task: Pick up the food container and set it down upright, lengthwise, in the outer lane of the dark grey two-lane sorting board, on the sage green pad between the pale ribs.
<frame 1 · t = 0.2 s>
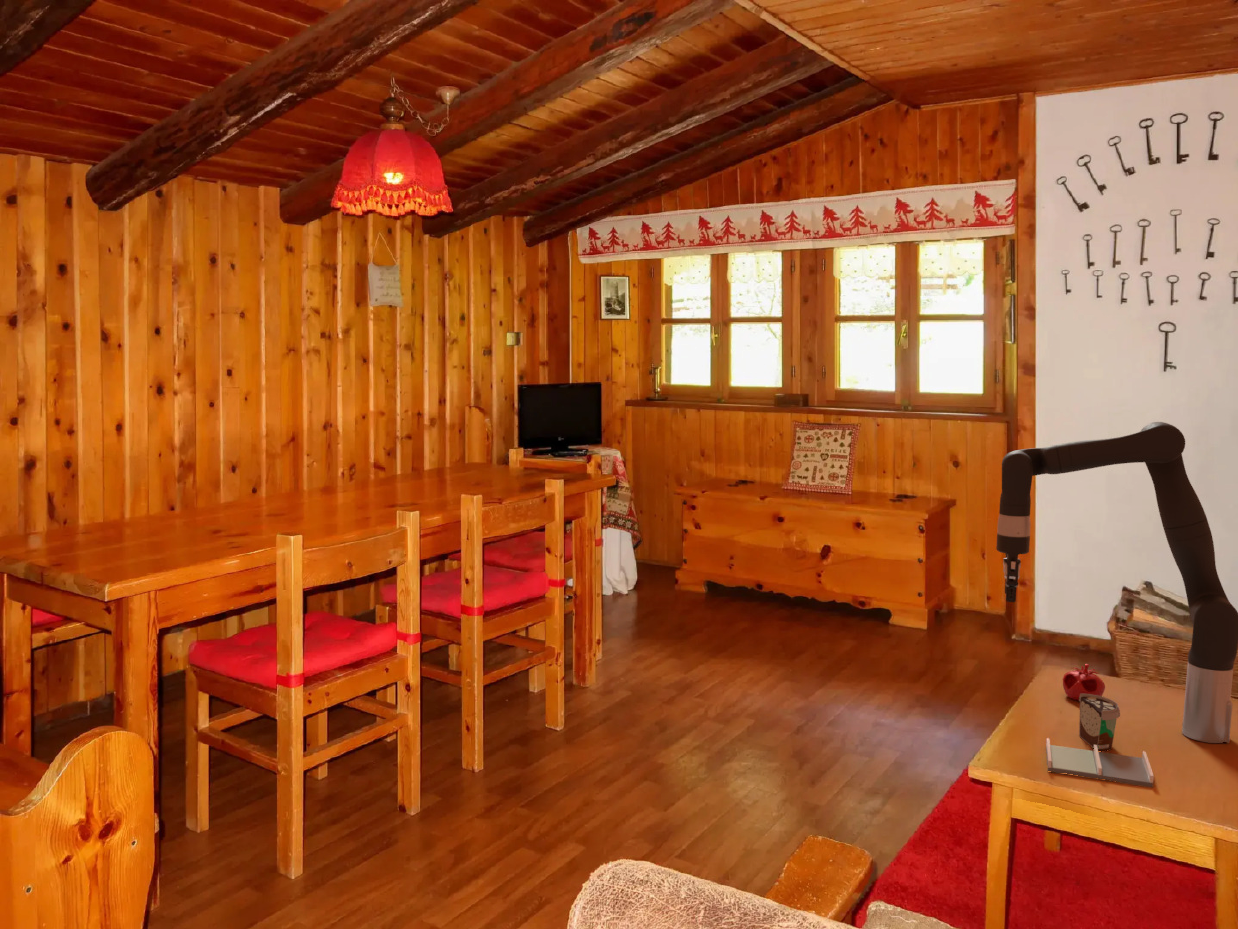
hand: (1010, 597, 253), 29 cm above the table, tool pointing down, fingers open, 8 cm apart
food container: (1101, 745, 235), on the table
sorting board: (1096, 767, 222), on the table
pomegranate: (1082, 699, 267), on the table
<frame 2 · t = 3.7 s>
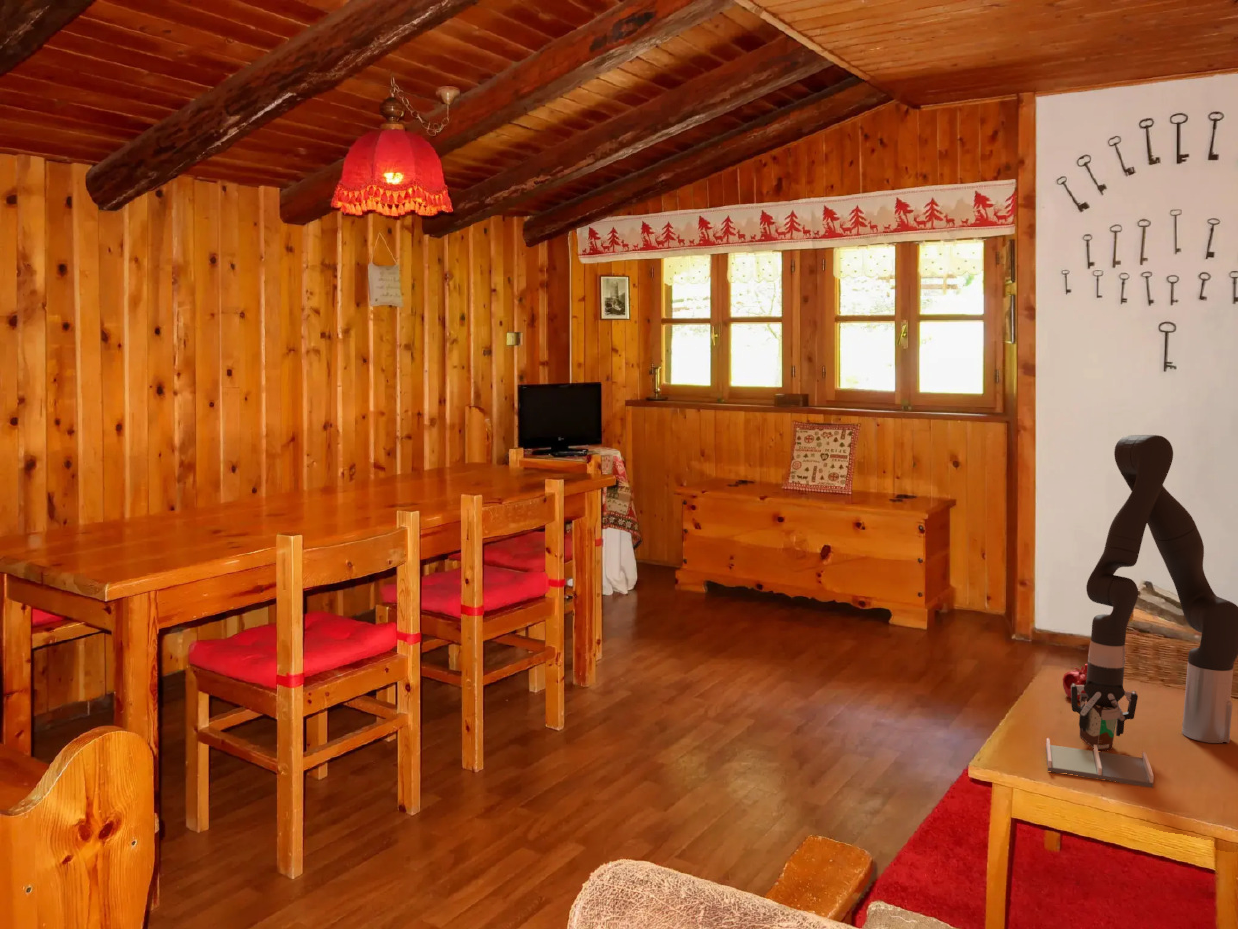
hand: (1100, 732, 235), 3 cm above the table, tool pointing down, fingers closed on food container, 6 cm apart
food container: (1101, 745, 235), on the table, touching gripper
everything else where it was.
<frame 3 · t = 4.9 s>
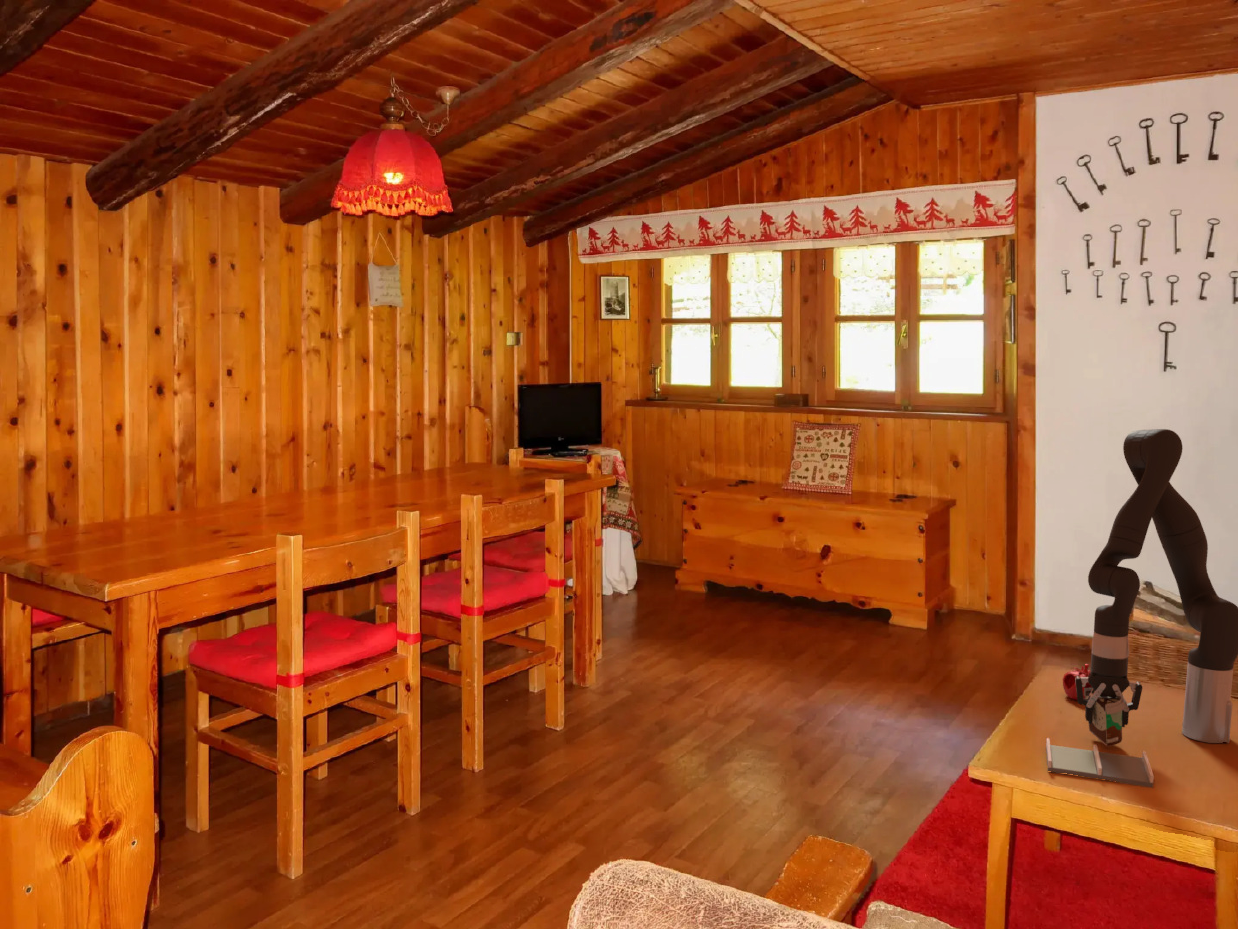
hand: (1106, 724, 234), 5 cm above the table, tool pointing down, fingers closed on food container, 6 cm apart
food container: (1111, 737, 234), point 2 cm above the table, touching gripper
everything else where it was.
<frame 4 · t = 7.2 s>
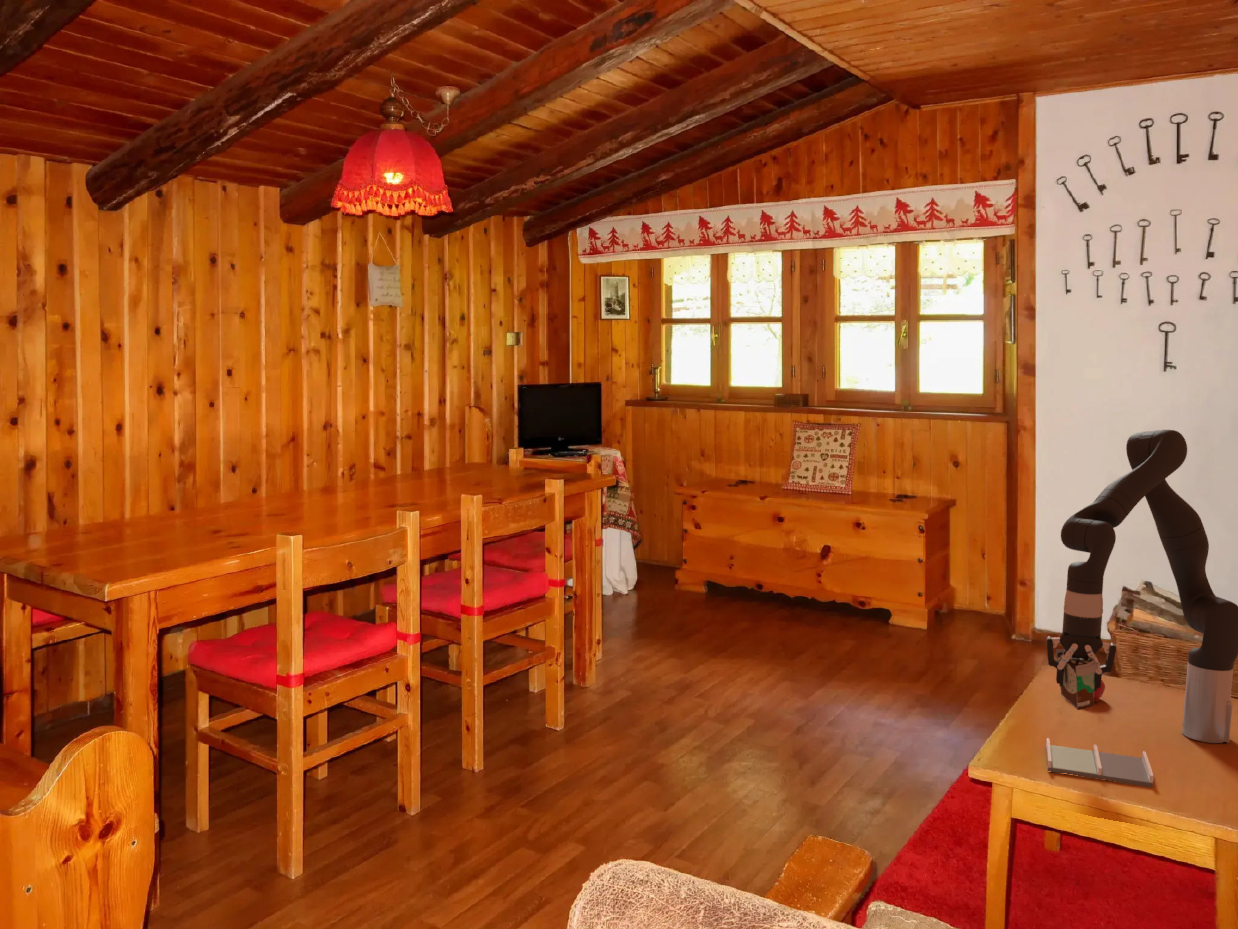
hand: (1077, 687, 222), 17 cm above the table, tool pointing down, fingers closed on food container, 6 cm apart
food container: (1083, 701, 222), point 14 cm above the table, touching gripper
everything else where it was.
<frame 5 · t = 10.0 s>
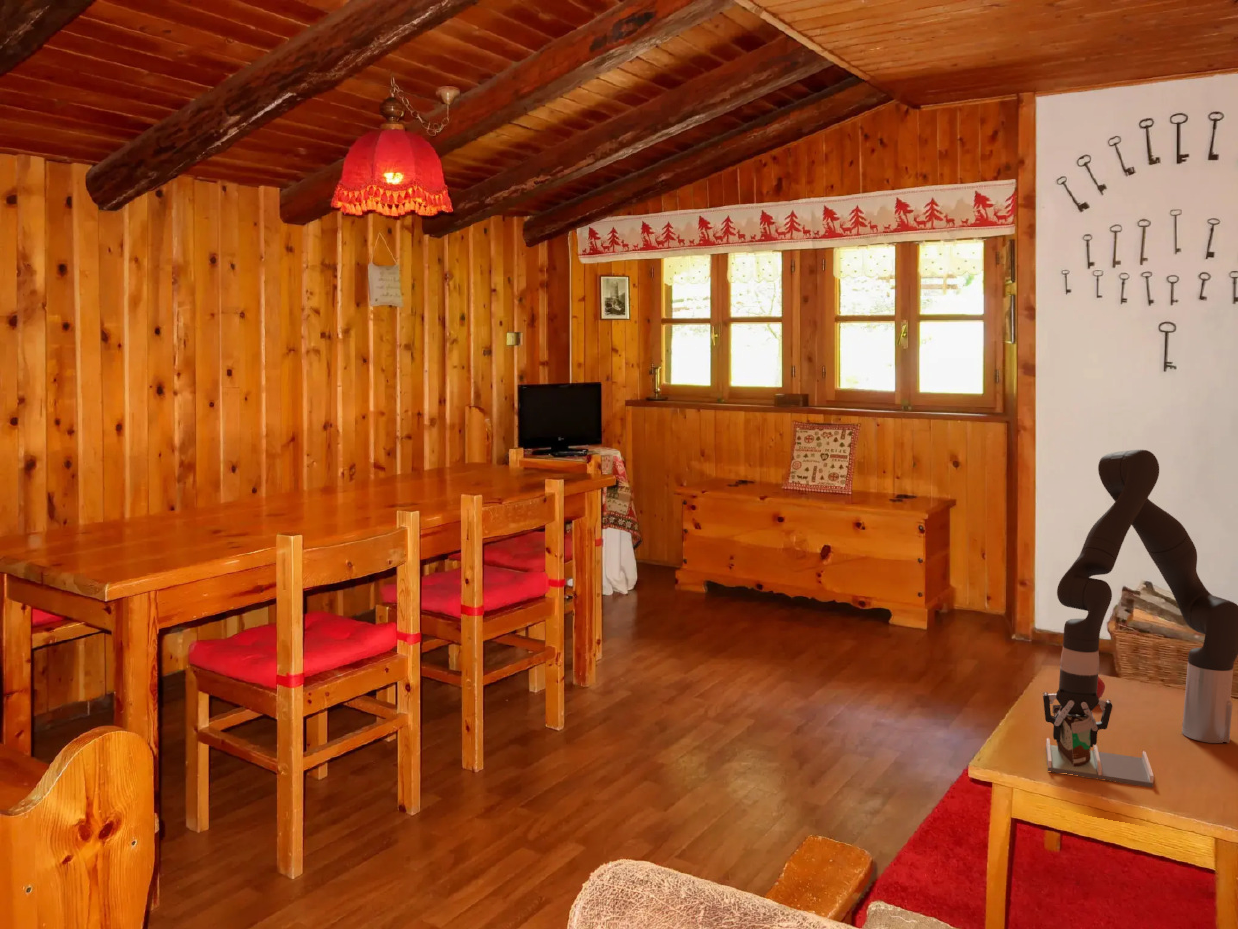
hand: (1074, 743, 223), 5 cm above the table, tool pointing down, fingers closed on food container, 6 cm apart
food container: (1080, 757, 224), point 1 cm above the table, touching gripper, sorting board
everything else where it was.
when the fingers open (5 cm above the table, at t = 10.3 s): food container stays where it is, resting on sorting board.
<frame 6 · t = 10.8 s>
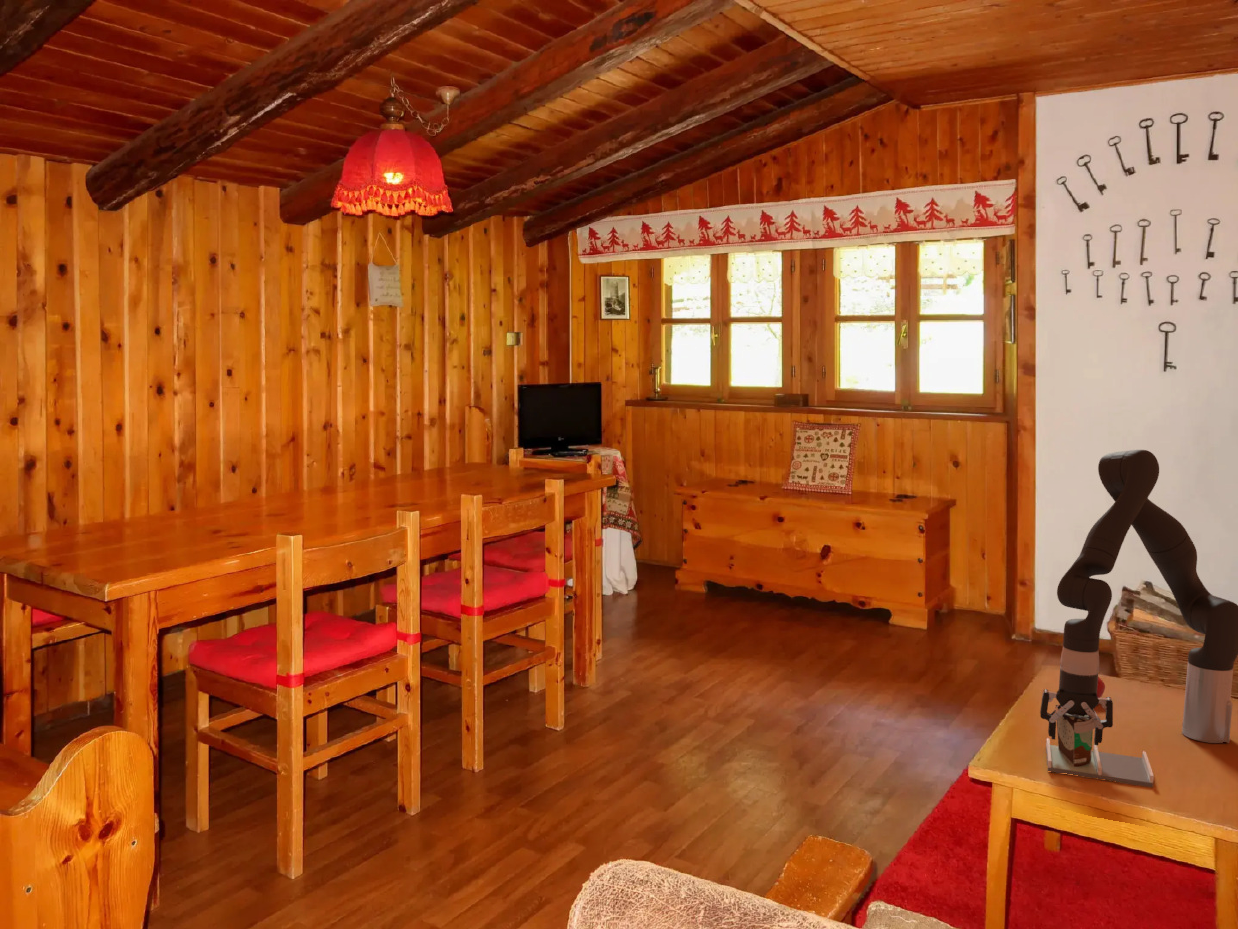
hand: (1074, 741, 223), 5 cm above the table, tool pointing down, fingers open, 8 cm apart
food container: (1080, 758, 224), point 1 cm above the table, touching gripper, sorting board
everything else where it was.
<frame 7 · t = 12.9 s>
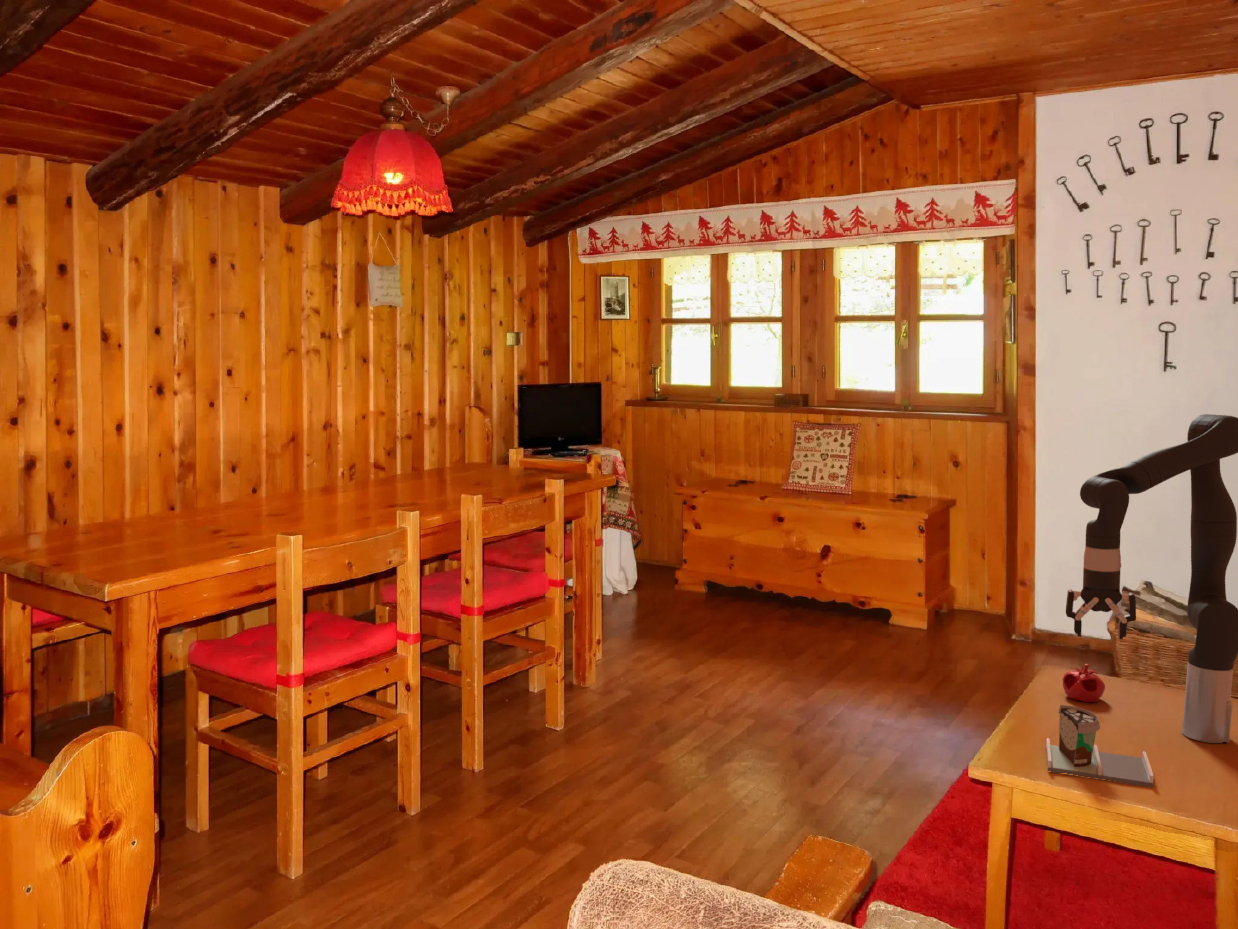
hand: (1099, 637, 232), 25 cm above the table, tool pointing down, fingers open, 8 cm apart
food container: (1080, 759, 224), point 1 cm above the table, touching sorting board
everything else where it was.
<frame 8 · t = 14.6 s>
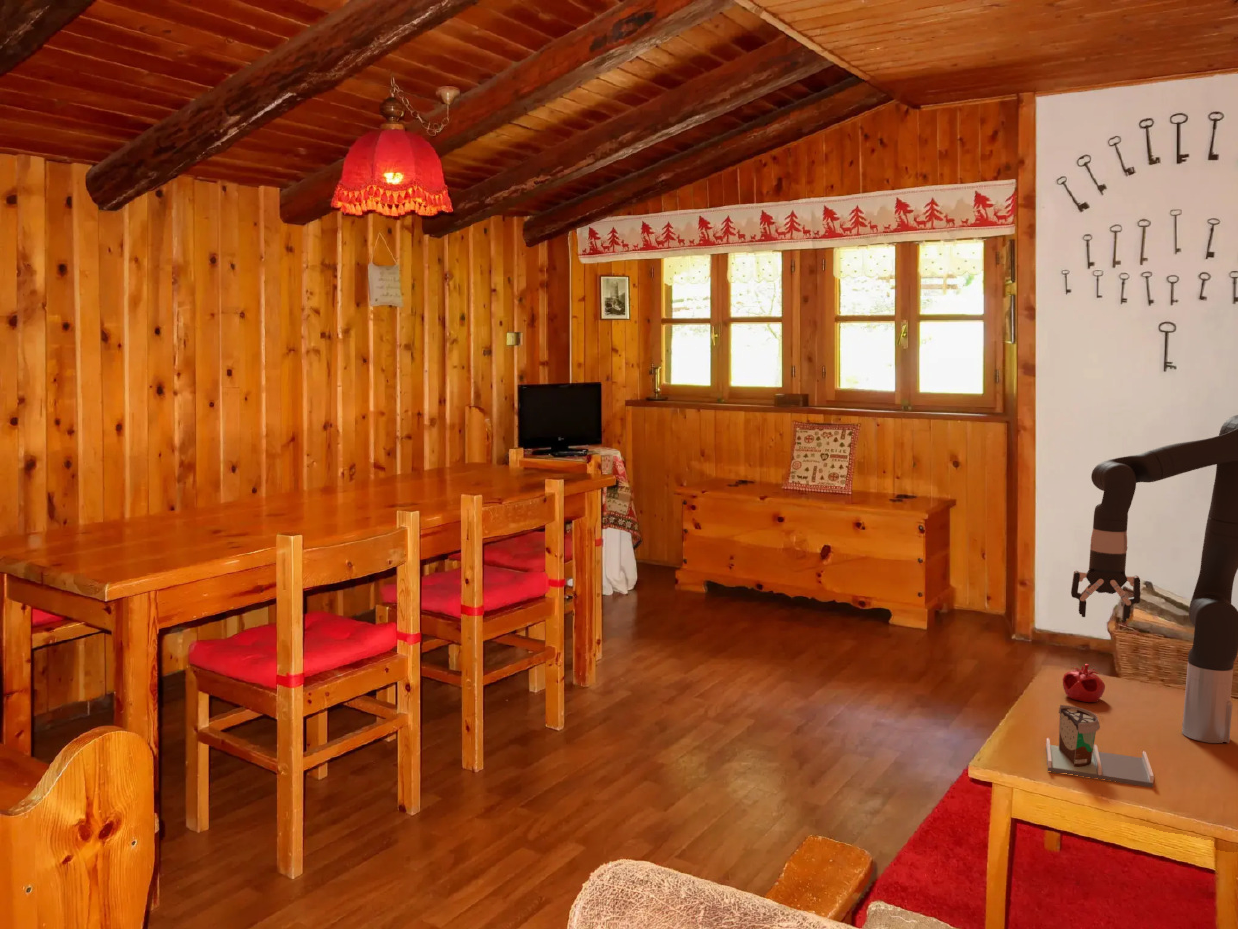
hand: (1103, 618, 237), 28 cm above the table, tool pointing down, fingers open, 8 cm apart
nothing on the table moved.
at the end: food container inside the target area on the sorting board (1.8 cm from its centre), point 0.9 cm above the sorting board's base; food container tilted 0°; the gripper is holding nothing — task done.
